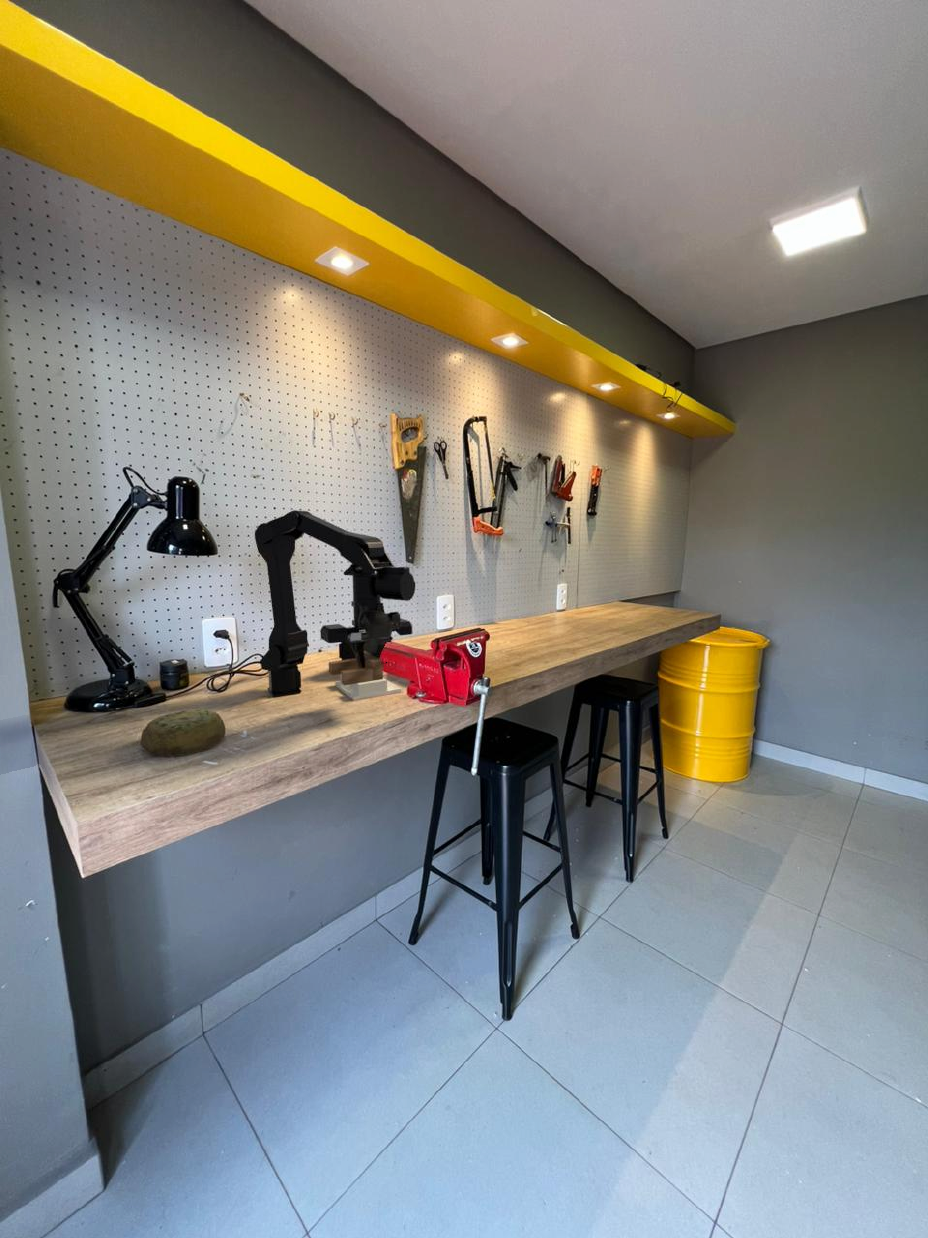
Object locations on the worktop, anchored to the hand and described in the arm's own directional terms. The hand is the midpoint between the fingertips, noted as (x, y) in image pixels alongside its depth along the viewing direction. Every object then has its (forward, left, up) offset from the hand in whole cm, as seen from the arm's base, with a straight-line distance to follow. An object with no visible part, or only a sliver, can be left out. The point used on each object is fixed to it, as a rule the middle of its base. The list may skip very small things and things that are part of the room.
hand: (368, 669), depth 106 cm
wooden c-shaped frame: (+5, +13, -9) cm, 17 cm away
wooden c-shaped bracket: (-3, 0, -1) cm, 3 cm away
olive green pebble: (-35, +1, -9) cm, 36 cm away
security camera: (+12, +30, -9) cm, 34 cm away
